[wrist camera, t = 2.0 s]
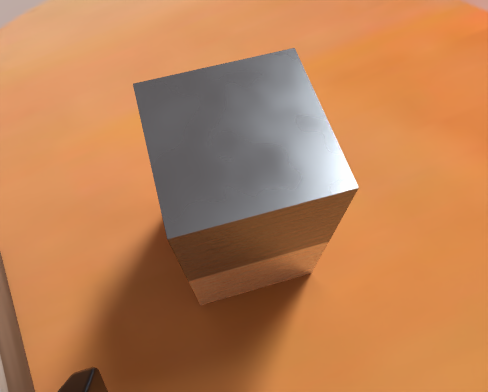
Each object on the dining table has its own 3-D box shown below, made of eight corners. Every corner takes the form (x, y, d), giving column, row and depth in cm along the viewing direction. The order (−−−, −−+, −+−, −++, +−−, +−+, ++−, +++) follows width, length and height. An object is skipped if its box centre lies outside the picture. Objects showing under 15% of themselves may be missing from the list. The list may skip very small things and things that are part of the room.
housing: (311, 273, 22) (358, 187, 13) (200, 305, 21) (167, 239, 12) (276, 176, 24) (294, 48, 15) (175, 202, 24) (132, 83, 15)
